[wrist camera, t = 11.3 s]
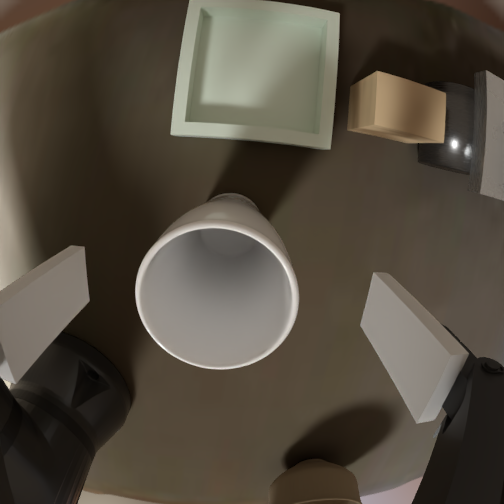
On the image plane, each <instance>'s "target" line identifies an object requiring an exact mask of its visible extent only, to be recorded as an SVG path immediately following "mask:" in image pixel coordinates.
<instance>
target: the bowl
mask: <svg viewBox="0 0 504 504" xmlns="http://www.w3.org/2000/svg"><path fill="white" fill-rule="evenodd" d="M269 504H362V503H361V500H360V496H359V491H358V484H357V480H356V477H355V476H354V475H353V474H352V473H351V472H350V471H349V470H347V469H346V468H344V467H342V466H340V465H337V464H334V463H330V462H327V461H325V460H322V459H309V460H305V461H302V462H300V463H298V464H296V465H295V466H294V467H292V468H290V469H288V470H287V471H285V472H284V473H282V474H281V475H280V476H279V477H278V478H277V479H276V480H275V481H274V482H273V483H272V485H271V486H270V489H269Z"/></svg>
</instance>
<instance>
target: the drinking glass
mask: <svg viewBox="0 0 504 504" xmlns="http://www.w3.org/2000/svg"><path fill="white" fill-rule="evenodd" d="M135 298H136V305H137V309H138V312H139V315H140V318H141V320H142V322H143V325H144V326H145V328H146V330H147V331H148V333H149V334H150V335H151V337H152V338H153V339H154V340H155V341H156V342H157V343H158V344H159V345H160V346H161V347H162V348H163V349H164V350H165V351H167V352H168V353H170V354H171V355H172V356H174V357H176V358H178V359H180V360H182V361H184V362H186V363H189V364H191V365H195V366H198V367H203V368H209V369H232V368H238V367H243V366H246V365H249V364H252V363H254V362H257V361H259V360H260V359H262V358H264V357H266V356H267V355H269V354H270V353H271V352H273V351H274V350H275V349H276V348H277V347H278V346H279V345H280V344H281V343H282V342H283V341H284V340H285V338H286V337H287V335H288V334H289V332H290V331H291V329H292V327H293V324H294V322H295V319H296V316H297V312H298V307H299V289H298V283H297V279H296V276H295V272H294V268H293V265H292V262H291V259H290V256H289V253H288V251H287V249H286V247H285V245H284V243H283V241H282V239H281V237H280V235H279V234H278V232H277V231H276V229H275V228H274V227H273V225H272V224H271V223H270V222H269V221H268V220H267V219H266V218H265V217H264V216H263V215H262V214H261V212H260V211H259V209H258V207H257V206H256V205H255V204H254V203H253V202H252V201H251V200H250V199H249V198H247V197H245V196H243V195H240V194H237V193H224V194H220V195H217V196H215V197H213V198H212V199H210V200H209V201H208V202H206V203H204V204H201V205H199V206H197V207H195V208H193V209H191V210H189V211H188V212H186V213H184V214H183V215H182V216H180V217H179V218H178V219H176V220H175V221H174V222H173V223H172V224H171V225H170V226H169V227H168V228H167V229H166V230H165V231H164V232H163V233H162V234H161V235H160V237H159V238H158V239H157V240H156V242H155V243H154V244H153V246H152V247H151V248H150V250H149V251H148V252H147V254H146V255H145V257H144V259H143V261H142V263H141V265H140V267H139V271H138V274H137V278H136V286H135Z"/></svg>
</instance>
